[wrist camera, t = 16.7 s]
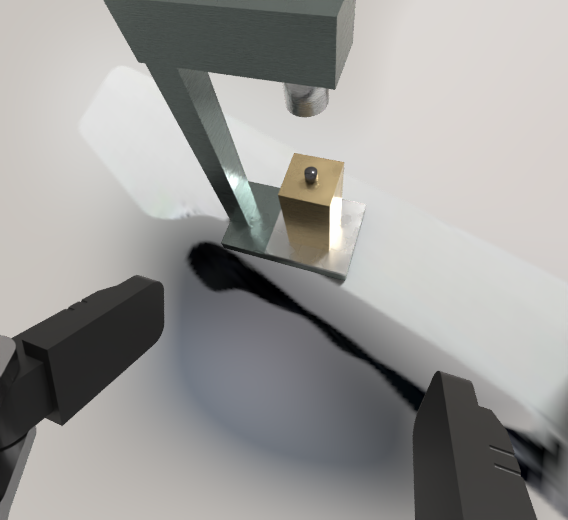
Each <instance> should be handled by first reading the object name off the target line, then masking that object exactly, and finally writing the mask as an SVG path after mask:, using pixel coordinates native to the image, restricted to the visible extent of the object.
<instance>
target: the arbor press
mask: <svg viewBox="0 0 568 520" xmlns="http://www.w3.org/2000/svg"><path fill="white" fill-rule="evenodd" d="M355 1H356V0H104V2H105V4H106V5H107V7H108V9H109V11H110V13H111V14H112V16H113V18H114V19H115V21H116V23H117V25H118V27H119V28H120V30H121V32H122V34H123V36H124V37H125V39H126V41H127V43H128V45H129V46H130V48H131V50H132V52H133V53H134V55H135V57H136V59H137V61H138V62H140V63H145V64H146V66H147V67H148V69H149V71H150V73H151V75H152V77H153V79H154V80H155V82H156V84H157V86H158V88H159V90H160V91H161V93H162V95H163V97H164V99H165V101H166V102H167V104H168V106H169V108H170V110H171V112H172V113H173V115H174V117H175V119H176V121H177V123H178V125H179V126H180V128H181V130H182V132H183V134H184V136H185V137H186V139H187V141H188V143H189V145H190V147H191V148H192V150H193V152H194V154H195V156H196V158H197V159H198V161H199V163H200V165H201V167H202V169H203V171H204V172H205V174H206V176H207V178H208V180H209V182H210V183H211V185H212V187H213V189H214V191H215V193H216V194H217V196H218V198H219V200H220V202H221V204H222V205H223V207H224V209H225V211H226V213H227V215H228V217H229V218H230V220H231V221H230V224H229V226H228V228H227V231H226V233H225V235H224V237H223V240H222V242H221V244H222V245H223V247H224V248H227V249H230V250H234V251H238V252H242V253H245V254H249V255H252V256H256V257H260V258H263V259H267V260H271V261H275V262H278V263H282V264H285V265H289V266H293V267H296V268H301V269H304V270H308V271H311V272H315V273H319V274H322V275H326V276H330V277H333V278H337V279H341V280H344V281H345V280H346V276H347V273H348V269H349V266H350V262H351V259H352V255H353V251H354V248H355V244H356V241H357V237H358V234H359V230H360V227H361V223H362V220H363V216H364V213H365V208H366V204H363V203H359V202H354V201H349V200H345V199H342V201H341V215H340V219H339V222H338V225H337V228H336V232H335V235H334V238H333V242H332V245H331V248H330V251H326V250H322V249H318V248H314V247H310V246H306V245H302V244H298V243H294V242H290V241H289V238H288V234H287V230H286V226H285V222H284V218H283V214H282V210H281V206H280V202H279V198H278V193H279V191H280V188H277V187H273V186H268V185H263V184H259V183H254V182H249V181H247V178H246V175H245V172H244V170H243V167H242V164H241V162H240V159H239V156H238V153H237V151H236V148H235V145H234V142H233V140H232V137H231V134H230V132H229V129H228V126H227V123H226V121H225V118H224V115H223V113H222V110H221V107H220V105H219V102H218V99H217V96H216V93H215V91H214V88H213V85H212V83H211V80H210V77H209V75H208V72H212V73H219V74H226V75H233V76H240V77H247V78H255V79H262V80H269V81H277V82H283V89H284V96H285V103H286V107H287V109H288V111H289V112H290V113H292V114H293V115H296V116H299V117H311V116H315V115H317V114H319V113H321V112H322V111H323V110H324V109H325V108H326V107H327V104H328V101H329V89H334V90H335V89H336V86H337V83H338V80H339V78H340V75H341V73H342V70H343V67H344V65H345V62H346V59H347V57H348V54H349V51H350V48H351V46H352V43H353V30H354V16H355Z"/></svg>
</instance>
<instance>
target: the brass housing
mask: <svg viewBox="0 0 568 520" xmlns="http://www.w3.org/2000/svg"><path fill="white" fill-rule="evenodd" d="M343 172H344V162H340V161H335V160H329V159H324V158H318V157H313V156H308V155H302V154H297V153H294V155H293V157H292V160H291V163H290V165H289V168H288V170H287V173H286V175H285V178H284V181H283V183H282V186H281V188H280V191H279V193H278V198H279V202H280V206H281V210H282V214H283V218H284V222H285V226H286V230H287V234H288V238H289V241H290V242H294V243H298V244H302V245H306V246H310V247H314V248H318V249H322V250H326V251H330V248H331V245H332V242H333V238H334V235H335V232H336V228H337V225H338V222H339V219H340V215H341V201H342V187H343Z"/></svg>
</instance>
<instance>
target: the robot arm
mask: <svg viewBox="0 0 568 520" xmlns="http://www.w3.org/2000/svg"><path fill="white" fill-rule="evenodd" d="M163 328H164V288H163V285H162V283H160V282H158V281H155V280H152V279H149V278H146V277H142V276H139V275H136V276H133V277H131V278H130V279H128V280H126V281H124V282H123V283H121V284H119V285H117V286H113V287H110V288H107V289H103V290H100V291H97V292H95V293H94V294H91V295H90V296H88V297H86V298H84V299H82V301H81V302H77V303H75V304H73V305H71V306H70V307H69V308H68V309H64V310H62V311H60V312H59V313H57V314H55V315H53V316H51V317H49V318H48V319H46V320H44V321H42V322H40V323H38V324H37V325H35V326H33V327H31V328H29V329H28V330H26V331H24V332H22V333H20V334H19V335H17V336H15V337H13V338H9V337H6V336H1V335H0V520H8V516H9V511H10V508H11V505H12V502H13V499H14V496H15V494H16V491H17V488H18V485H19V482H20V479H21V476H22V474H23V471H24V468H25V465H26V462H27V459H28V456H29V453H30V451H31V448H32V445H33V442H34V439H35V436H36V426H35V425H37V424H38V423H39V422H40V421H41V420H43V419H44V418H47V419H49V420H51V421H53V422H55V423H57V424H59V425H61V426H63V425H64V424H65V423H66V422H67V421H68V420H69V419H70V418H72V417H73V416H74V415H75V414H76V413H77V412H78V411H79V410H81V409H82V408H83V407H84V406H85V405H86V404H87V403H89V402H90V401H91V400H92V399H93V398H94V397H95V396H97V395H98V393H100V392H101V391H102V390H103V389H104V388H105V387H106V386H108V385H109V384H110V383H111V382H112V381H113V380H115V379H116V378H117V377H118V376H119V375H120V374H121V373H122V372H123V371H125V370H126V369H127V368H128V367H129V366H130V365H131V364H133V363H134V362H135V361H136V360H137V359H138V358H139V357H140V356H142V355H143V354H144V353H145V352H146V351H147V350H148V349H150V348H151V347H152V346H153V345H154V344H155V343H156V342H157V341H158V339H159V338H160V336H161V334H162V331H163ZM514 454H515V453H514V450H513V447H512V444H511V441H510V438H509V435H508V433H507V431H506V429H505V428H504V427H503V425H502V424H501V423H500V421H499V420H498V419H497V417H496V416H495V415H494V413H493V412H492V410H490V409H487V408H484V407H480V406H478V402H477V398H476V395H475V391H474V387H473V384H472V383H471V381H469V380H466V379H463V378H460V377H456V376H454V375H450V374H447V373H444V372H440V371H437V372H436V373H435V374H434V376H433V378H432V381H431V383H430V385H429V387H428V390H427V392H426V394H425V397H424V399H423V401H422V404H421V406H420V408H419V410H418V413H417V416H416V419H415V423H414V429H413V466H414V499H415V520H537V518H536V515H535V512H534V509H533V506H532V503H531V500H530V497H529V494H528V491H527V488H526V485H525V483H524V480H523V478H522V477H521V471H520V468H519V465H518V462H517V459H516V458H515V457H514Z"/></svg>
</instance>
